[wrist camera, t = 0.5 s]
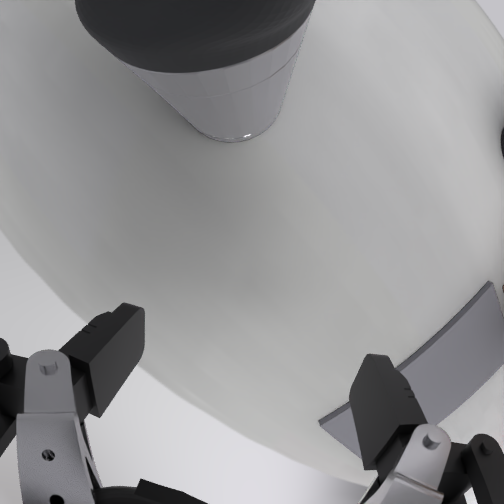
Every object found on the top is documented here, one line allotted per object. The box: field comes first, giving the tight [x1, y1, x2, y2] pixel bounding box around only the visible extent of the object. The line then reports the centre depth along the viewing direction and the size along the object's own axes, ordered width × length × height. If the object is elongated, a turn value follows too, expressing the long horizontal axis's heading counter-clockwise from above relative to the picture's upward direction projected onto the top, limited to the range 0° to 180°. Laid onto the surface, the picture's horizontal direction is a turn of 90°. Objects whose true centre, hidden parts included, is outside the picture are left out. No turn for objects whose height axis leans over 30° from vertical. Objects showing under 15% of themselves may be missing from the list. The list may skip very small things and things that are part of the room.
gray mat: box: [319, 281, 504, 459], centre depth 31 cm, size 28×16×1 cm, turn 130°
